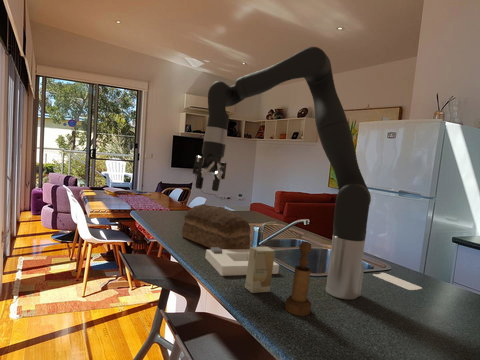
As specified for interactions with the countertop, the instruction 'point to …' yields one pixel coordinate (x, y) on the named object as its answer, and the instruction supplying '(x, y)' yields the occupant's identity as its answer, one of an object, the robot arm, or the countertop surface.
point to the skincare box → (259, 269)
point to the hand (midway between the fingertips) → (206, 189)
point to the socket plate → (231, 261)
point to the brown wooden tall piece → (300, 285)
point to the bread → (216, 228)
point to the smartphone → (397, 281)
